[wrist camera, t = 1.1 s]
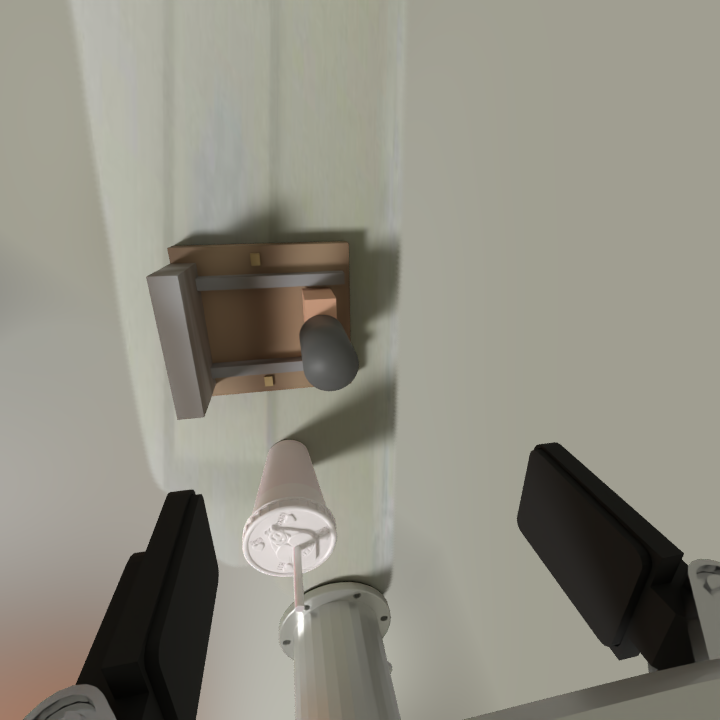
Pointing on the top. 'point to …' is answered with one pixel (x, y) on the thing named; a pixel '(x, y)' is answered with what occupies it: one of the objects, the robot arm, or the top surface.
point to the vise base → (240, 315)
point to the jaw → (325, 342)
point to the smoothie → (289, 519)
